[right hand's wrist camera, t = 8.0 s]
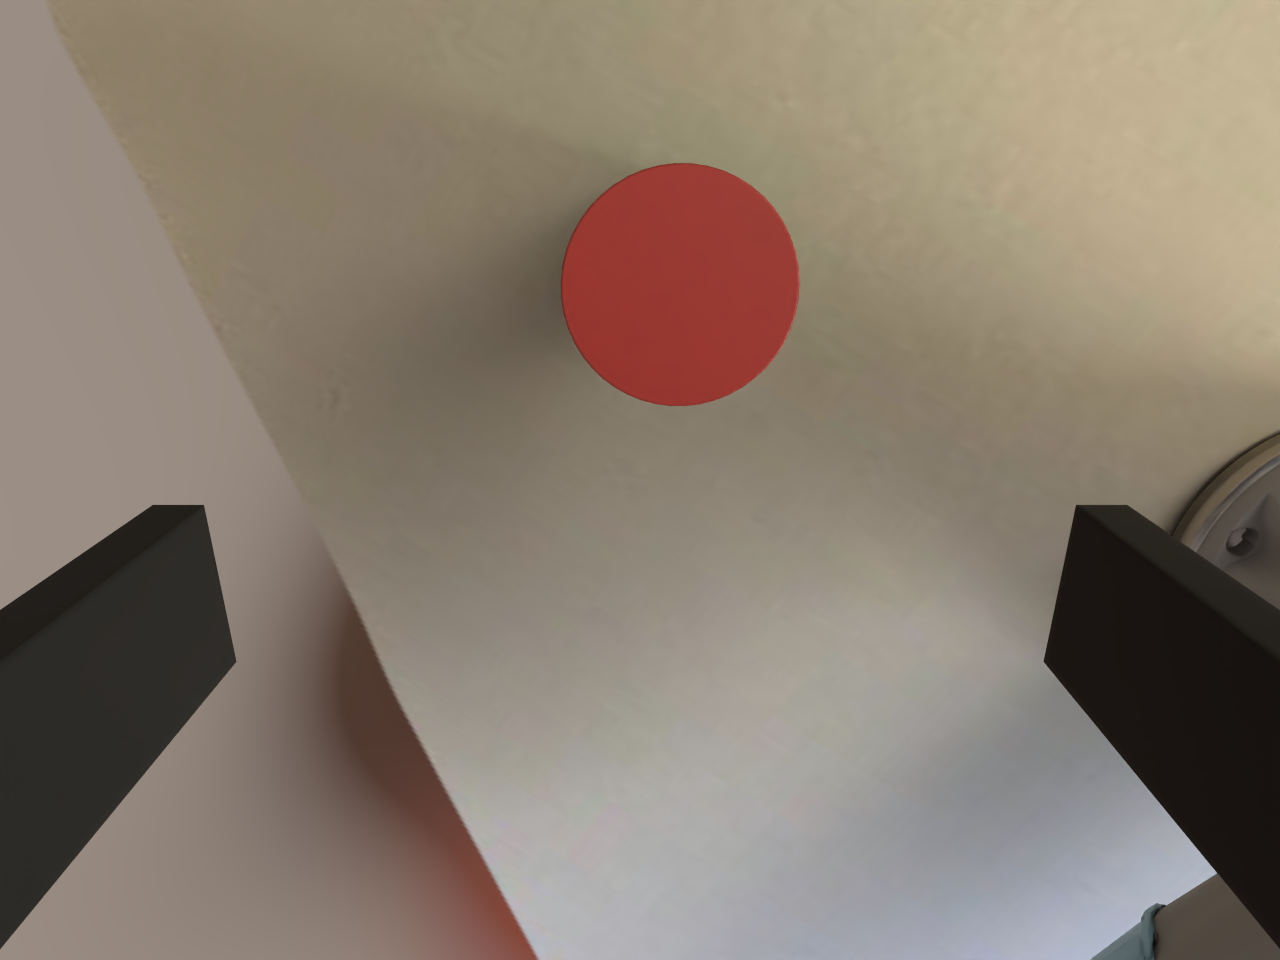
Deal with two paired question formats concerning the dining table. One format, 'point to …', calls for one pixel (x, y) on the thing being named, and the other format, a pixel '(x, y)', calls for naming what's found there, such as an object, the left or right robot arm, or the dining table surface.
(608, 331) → the lid
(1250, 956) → the right robot arm
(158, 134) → the dining table surface
